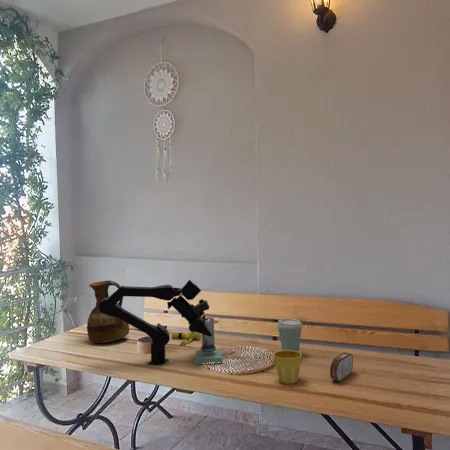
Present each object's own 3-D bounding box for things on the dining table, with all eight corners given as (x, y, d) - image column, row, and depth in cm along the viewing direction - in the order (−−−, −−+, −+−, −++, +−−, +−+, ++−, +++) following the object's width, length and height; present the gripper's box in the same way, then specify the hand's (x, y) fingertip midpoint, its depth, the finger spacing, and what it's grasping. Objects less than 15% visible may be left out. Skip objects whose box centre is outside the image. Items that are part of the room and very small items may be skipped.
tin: (347, 371, 169) (346, 349, 169) (355, 372, 167) (354, 350, 167) (329, 383, 158) (328, 359, 157) (337, 385, 156) (337, 361, 155)
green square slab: (222, 363, 181) (221, 357, 181) (195, 364, 181) (194, 358, 181) (222, 355, 192) (221, 349, 192) (196, 356, 192) (196, 350, 192)
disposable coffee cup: (306, 352, 193) (305, 318, 192) (299, 360, 183) (298, 324, 182) (282, 350, 197) (281, 316, 197) (274, 357, 187) (273, 322, 187)
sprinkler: (178, 325, 229) (205, 326, 225) (179, 333, 230) (206, 333, 225) (162, 341, 211) (192, 341, 206) (163, 349, 211) (193, 350, 207)
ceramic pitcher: (87, 337, 227) (85, 279, 226) (127, 333, 233) (125, 276, 233) (87, 348, 208) (85, 284, 208) (131, 343, 214) (129, 281, 214)
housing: (212, 352, 182) (211, 321, 182) (198, 351, 185) (197, 320, 184) (218, 348, 188) (217, 317, 188) (204, 346, 191) (203, 316, 190)
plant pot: (269, 378, 164) (268, 351, 164) (293, 374, 167) (292, 348, 167) (282, 388, 154) (281, 359, 154) (308, 383, 158) (307, 355, 158)
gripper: (196, 298, 177) (224, 325, 177) (199, 290, 195) (224, 315, 196) (177, 318, 177) (205, 345, 177) (181, 309, 195) (206, 333, 196)
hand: (211, 334), depth 186 cm, fingers closed on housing, 5 cm apart
